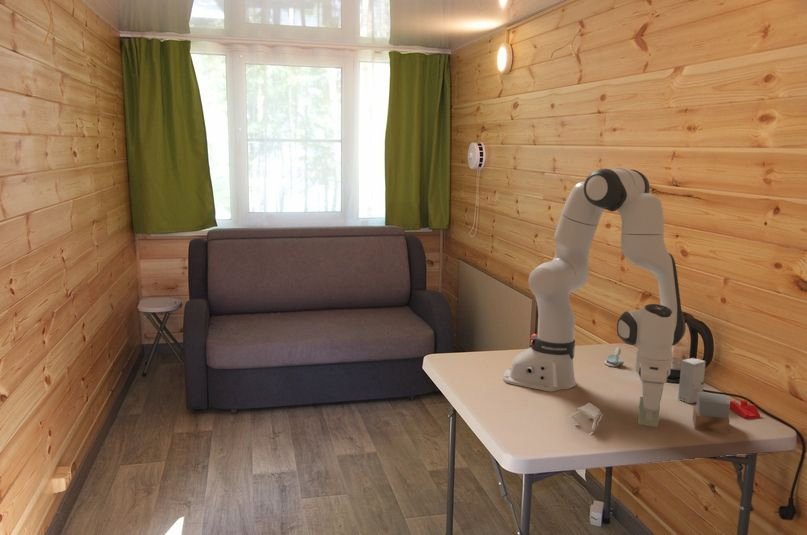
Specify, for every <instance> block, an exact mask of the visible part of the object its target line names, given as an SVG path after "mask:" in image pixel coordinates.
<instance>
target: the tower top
mask: <svg viewBox="0 0 807 535" xmlns="http://www.w3.org/2000/svg"><path fill="white" fill-rule="evenodd" d="M696 406H697V409H698V412H699V415H701V416H709V417H717V418H725V419H728V417H729V418H730V416H729V415H730V410H729V409H730V401H729V400H728V398H727V395H726V394H718V393H708V392H703V393H702V392H698V396H697V402H696Z"/></svg>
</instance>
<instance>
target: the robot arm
mask: <svg viewBox="0 0 807 535" xmlns="http://www.w3.org/2000/svg"><path fill="white" fill-rule="evenodd" d="M650 188H651V187H650V182H649V180H648V178H647V176H646V175H644V174H643V173H642V172H640V171H638V170H637V169H629V168H624V167H623V168H620V167H618V168H617V167H616V168H601V169H597V170H595V171H593V172H591V173H590V174H588V175H587V177H586V179H585V181H581V182H578V183H576V184H575V185H574V186H573V187H572V189H571V191H570V193H569V194H568V197H566V201H565V202H564V203H565V204H564V205H563V208H562V211H561V214H560V217H559V220H558V222H557V226H556V229H555V231H554V235H553V240H554V242H555V252H554V257H553V259H551V260H550V261H546V262H543V263H540V264H539V265H538V266H536V267H535V268H534V269H533V270H531V271H530V274H529V276H528V281H527V282H528V286H529V290H530V292H532V294H533V295H534V297H535V301H536V306H537V312H538V316H537V317H538V321H537V333H533V334H531V336H530V343H529V346H530V347H528V348H527V349H525V350H524V351H521V353H518V354H517V355H516V356H515V357H514V358H513V360H512V362H511V365H510V366H511V367H509V368H507V369H506V370H505V371H504V373H503V376H502V377H503V378H502V380H503V379H504V380H503V382H504V383H505V384H510V385H516V386H520V387H525V388H530V389H535V390H540V391H544V392H551V393H552V392H556V391H560V390H567V389H571V388H573V387H575V386H576V385H577V380H576V377H575V371H574V370H575V369H574V368H575V367H574V358H575V353H576V339H575V328H576V326H575V324H576V314H575V312H574V311H573V309H572V307H571V302H570V295H571V293H574V292H577V291H578V290H580V289H581V288H582V287H583V286H585V285H586V283H587V282H588V281H589V277H590V270H589V267H588V263H589V256H590V249H591V245H592V242H593V240H594V237H595V234H596V232H597V228H598V225H599V222H600V219H601V217H602V214H603V212H604V211H605V210H607V211H609V212H613V213H614V212H616V211H617V212H618V214H619V215H620V218H621V227H620V228H621V230H620V231H621V232H620V248H621V253H622V254H623V256H624V258H625V259H627V261H629V262H630V263H631V264H633V265H634V266H637V267H638V268H641V269H644V270H646V271H648V272H650V273H651V274H652V275H653V276H654V277H655V279H656V280H657V285H658V292H659V293H658V294H659V303H660V304H657V303H649V304H645V305H643V307H642V308H640V309H635V310H627V311H624V312H623V313H622V314H621V315H620V316H619V317H618V320H617V324H616V333H617V336H618V337H619V338H620V340H621V341H622V342H623V343H624V344H626V345H630V346H636V348H637V352H636V356H635V371H636V372H637V373H638V375H639V380H640V381H641V386H642V397H643V408H644V410H646V415H645V419H646V420H652V419H653V413H654V411H658V409H659V406H660V407H661V401H662V396H663V391H664V386H665V384H666V383H668V382H667V381H668V377H669V376H670V375H671V370H672V359H673V357H672V356H673V354H672V346H675V345H677V344H678V343H680V341H681V340H682V339H683V337H684V336H685V335H686V330H687V329H686V328H687V327H686V322H685V317H684V314H683V310H682V304H681V296H680V288H679V278H678V271H677V267H676V261H675V258H674V256H673V255H672V254H671V253H669V252H668V250H667V248H666V243H665V237H664V234H665V232H664V231H665V225H664V224H665V222H664V212H663V205H662V201H661V199H660V198H659V197H658V196H657V195H655V194H652V193H650Z"/></svg>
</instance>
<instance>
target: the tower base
mask: <svg viewBox="0 0 807 535" xmlns="http://www.w3.org/2000/svg"><path fill="white" fill-rule="evenodd" d="M696 405H697V404H696ZM696 405H695V404H694V405H693V410H692V411H693V412H692V421H693V426H694V430H697V431H706V432H712V433H718V434H719V433H720V434H726V435H728V434H729V429H730V428H729V427H730V416H729V417H728V419H725V418H717V417H709V416H701V415H699V412H698V409H697V406H696Z"/></svg>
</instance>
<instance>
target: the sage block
mask: <svg viewBox="0 0 807 535" xmlns="http://www.w3.org/2000/svg"><path fill="white" fill-rule="evenodd" d="M638 404H639V405H638V415H637V424H638V425H641V426H649V427H655V428H656V427H657V428H658V427H659V420H660V410H661V405H660V406H659V409H658V411H654V413H653V419H652V420H646V419H645V415H646V410H644V408H643V396H639V403H638Z"/></svg>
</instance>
